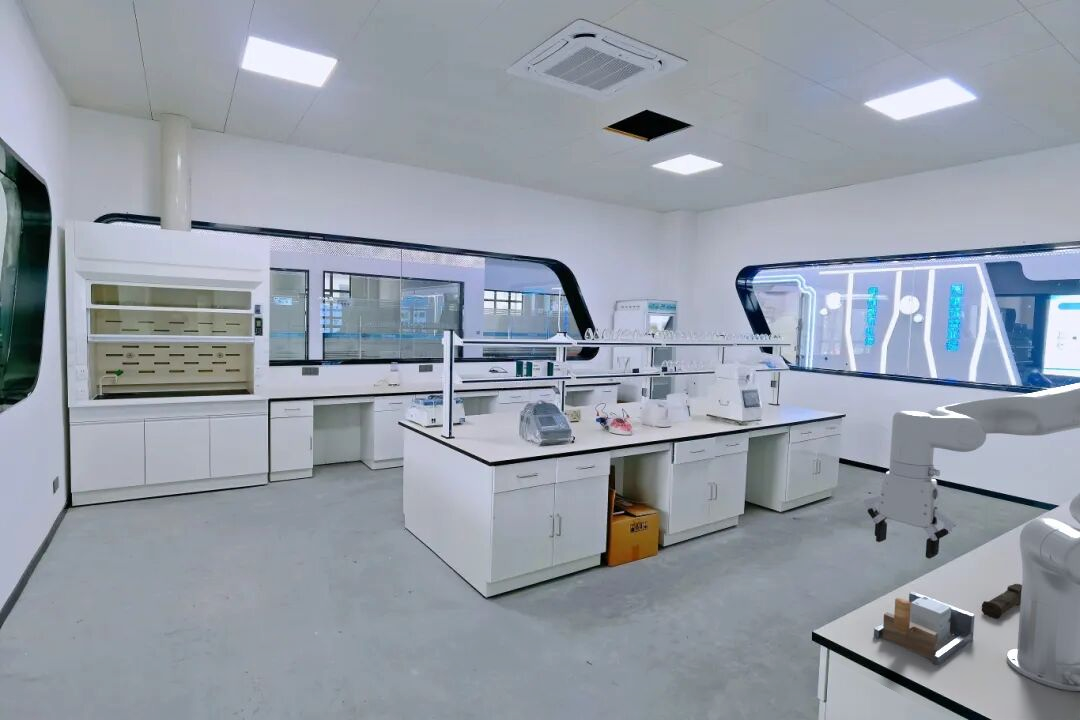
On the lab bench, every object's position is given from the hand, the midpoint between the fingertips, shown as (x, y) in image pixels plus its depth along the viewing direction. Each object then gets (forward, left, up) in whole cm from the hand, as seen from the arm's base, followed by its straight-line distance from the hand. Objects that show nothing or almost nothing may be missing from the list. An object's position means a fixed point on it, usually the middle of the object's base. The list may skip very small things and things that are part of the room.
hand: (904, 548), depth 117 cm
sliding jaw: (+1, -2, -23) cm, 23 cm away
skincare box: (+6, -13, -24) cm, 28 cm away
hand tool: (+17, -43, -24) cm, 52 cm away
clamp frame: (+5, -10, -23) cm, 26 cm away
